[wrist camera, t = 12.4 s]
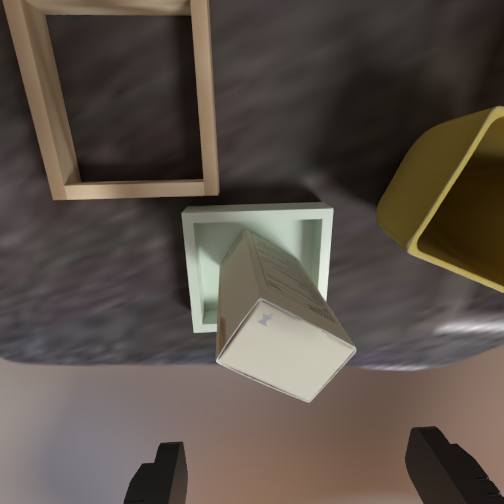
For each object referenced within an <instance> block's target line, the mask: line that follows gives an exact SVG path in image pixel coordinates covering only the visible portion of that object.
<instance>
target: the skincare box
mask: <svg viewBox="0 0 504 504" xmlns="http://www.w3.org/2000/svg"><path fill="white" fill-rule="evenodd" d="M355 353H356V347H355V345H354V344H353V342H352V341H351V339H350V338H349V336H348V335H347V333H346V332H345V330H344V329H343V327H342V326H341V324H340V323H339V321H338V320H337V318H336V317H335V315H334V313H333V312H332V310H331V309H330V307H329V306H328V304H327V303H326V301H325V300H324V298H323V297H322V295H321V293H320V292H319V290H318V289H317V287H316V286H315V284H314V283H313V281H312V280H311V278H310V277H309V275H308V274H307V272H306V270H305V269H304V267H303V266H302V264H301V263H300V261H299V260H298V259H296V258H294V257H293V256H291V255H290V254H288V253H287V252H285V251H283V250H282V249H280V248H279V247H277V246H275V245H273V244H272V243H270V242H268V241H267V240H265V239H263V238H261V237H260V236H258V235H256V234H254V233H252V232H250V231H249V230H247V229H243V230H242V232H241V233H240V235H239V236H238V237H237V239H236V240H235V242H234V243H233V245H232V246H231V248H230V249H229V251H228V252H227V254H226V256H225V257H224V259H223V261H222V262H221V264H220V269H219V291H218V311H217V338H216V362H217V363H219V364H221V365H223V366H225V367H226V368H229V369H231V370H233V371H235V372H237V373H239V374H241V375H244V376H245V377H248V378H250V379H252V380H255V381H257V382H259V383H262V384H264V385H266V386H269V387H271V388H273V389H276V390H278V391H281V392H283V393H285V394H288V395H291V396H293V397H295V398H298V399H300V400H303V401H305V402H311V401H312V400H313V398H314V397H315V396H316V395H317V394H318V393H319V392H320V391H321V390H322V389H323V388H324V387H325V385H326V384H327V383H328V382H329V381H330V380H331V379H332V378H333V377H334V376H335V375H336V374H337V373H338V371H339V370H340V369H341V368H342V367H343V366H344V365H345V364H346V363H347V362H348V360H349V359H350V358H351V357H352V356H353V355H354V354H355Z"/></svg>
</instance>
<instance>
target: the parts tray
mask: <svg viewBox="0 0 504 504" xmlns="http://www.w3.org/2000/svg"><path fill="white" fill-rule="evenodd" d="M181 214H182V224H183V233H184V243H185V253H186V262H187V272H188V281H189V291H190V300H191V310H192V320H193V329H194V333H201V332H217V311H218V291H219V269H220V264H221V262H222V261H223V259H224V257H225V256H226V254H227V252H228V251H229V249H230V248H231V246H232V245H233V243H234V242H235V240H236V239H237V237H238V236H239V235H240V233H241V232H242V230H243V229H247V230H249V231H250V232H252V233H254V234H256V235H258V236H260V237H261V238H263V239H265V240H267V241H268V242H270V243H272V244H273V245H275V246H277V247H279V248H280V249H282V250H283V251H285V252H287V253H288V254H290V255H291V256H293V257H294V258H296V259H298V260H299V261H300V263H301V264H302V266H303V267H304V269H305V270H306V272H307V274H308V275H309V277H310V278H311V280H312V281H313V283H314V284H315V286H316V287H317V289H318V290H319V292H320V293H321V295H322V297H323V298H324V300H325V301H326V298H327V285H328V272H329V259H330V246H331V233H332V220H333V208H332V207H330V206H328V205H327V204H325V203H323V202H307V203H274V204H242V205H210V206H187V207H186V208H185V210H184V211H183V212H182V213H181Z"/></svg>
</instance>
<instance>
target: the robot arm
mask: <svg viewBox="0 0 504 504" xmlns="http://www.w3.org/2000/svg"><path fill="white" fill-rule="evenodd" d="M405 463H406V468H407V471H408V474H409V476H410V479H411V481H412V482H413V484H414V486H415V488H416V490H417V492H418V494H419V496H420V498H421V499H422V501H423V503H424V504H504V497H502V495H501V492H500V491H499V490H498V488H497V487H496V486H495V484H494V483H493V482H492V481H490V480H489V477H488V475H487V474H486V473H485V472H484V470H483V469H482V468H481V466H480V465H479V464H478V462H477V461H476V460H475V459H474V458H473V457H472V456H471V455H470V454H468V453H467V452H466V451H465V450H463V449H462V448H461V447H460V446H459V445H458V444H450V443H449V442H448V440H447V439H446V438H445V436H444V435H443V433H442V432H441V431H440V430H439V429H438V428H437V427H435V426H431V427H415V428H412V429H411V432H410V437H409V441H408V446H407V451H406V456H405ZM187 482H188V471H187V464H186V457H185V451H184V444H183V442H168V443H160V445H159V447H158V450H157V454H156V458H155V461H154V463H146V464H145V463H144V464H142V465H141V467H140V468H139V469H138V471H137V472H136V474H135V475H134V477H133V478H132V480H131V482H130V484H129V487H128V490H127V493H126V496H125V499H124V504H185V500H186V494H187Z"/></svg>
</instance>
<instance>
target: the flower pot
mask: <svg viewBox="0 0 504 504" xmlns="http://www.w3.org/2000/svg"><path fill="white" fill-rule="evenodd" d="M376 218H377V222H378V224H379V226H380V227H381V228H382V229H383V230H384V231H385V232H386V233H387V234H388V235H389V236H390V237H391V238H392V239H393V240H395V241H396V242H397V243H398V244H399V245H400V246H401V247H402V248H404V249H405V250H406V251H407V252H408V253H409V254H411V255H413V256H415V257H418V258H420V259H423V260H426V261H428V262H431V263H433V264H435V265H438V266H441V267H443V268H445V269H448V270H450V271H453V272H455V273H457V274H460V275H462V276H464V277H467V278H469V279H472V280H474V281H477V282H479V283H481V284H484V285H486V286H488V287H491V288H493V289H495V290H498V291H500V292H503V293H504V106H496V107H492V108H490V109H486V110H483V111H479V112H476V113H472V114H469V115H466V116H463V117H459V118H456V119H453V120H450V121H447V122H444V123H441V124H439V125H436V126H434V127H432V128H431V129H429V130H428V131H426V132H425V133H424V134H423V135H421V136H420V137H419V138H418V139H417V140H416V142H415V143H414V144H413V145H412V146H411V148H410V149H409V151H408V152H407V153H406V155H405V157H404V159H403V161H402V162H401V164H400V166H399V168H398V170H397V171H396V173H395V175H394V177H393V178H392V180H391V182H390V184H389V185H388V187H387V189H386V191H385V192H384V194H383V196H382V197H381V199H380V201H379V204H378V206H377V210H376Z"/></svg>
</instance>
